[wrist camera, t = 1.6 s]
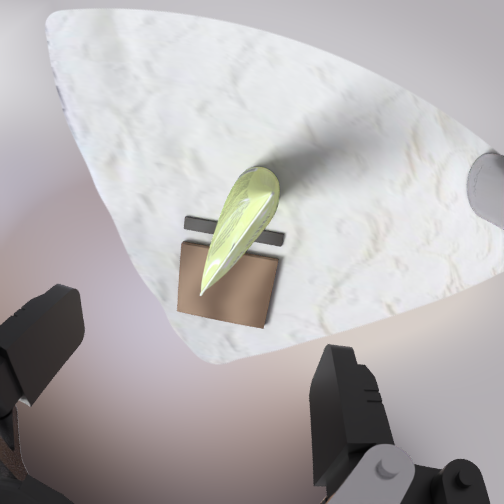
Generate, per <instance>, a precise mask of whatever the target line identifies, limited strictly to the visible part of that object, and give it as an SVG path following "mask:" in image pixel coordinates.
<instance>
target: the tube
mask: <svg viewBox="0 0 504 504" xmlns="http://www.w3.org/2000/svg"><path fill="white" fill-rule="evenodd" d="M279 192H280V187H279V182H278V179H277V177H276V176H275V175H274V173H272V172H271V171H270V170H268V169H266V168H263V167H253V168H250V169H248V170H246V171H244V172H243V173H242V174H241V175H240V177H239V178H238V179H237V181H236V183H235V184H234V186H233V187H232V189H231V191H230V193H229V195H228V197H227V199H226V202H225V204H224V207H223V209H222V212H221V215H220V217H219V220H218V223H217V226H216V229H215V232H214V235H213V238H212V241H211V245H210V248H209V251H208V255H207V259H206V263H205V268H204V272H203V278H202V284H201V293H200V296H202V295H203V293H204V292H205V290H206V289H208V288H209V287H211V286H212V285H213V284H214V283H216V282H217V281H218V280H219V279H220V278H222V277H223V276H224V275H225V274H226V273H227V272H228V271H229V270H230V269H231V268H232V267H233V266H234V265H235V264H236V263H237V261H238V260H239V259H240V258H241V257H242V256H243V254H244V253H245V252H246V251H247V250H248V248H249V247H250V246H251V245H252V244H253V242H254V241H255V240H256V239H257V237H258V236H259V235H260V234H261V233H262V231H263V230H264V229H265V228H266V226H267V225H268V224H269V223H270V221H271V220H272V218H273V216H274V214H275V212H276V210H277V207H278V202H279Z"/></svg>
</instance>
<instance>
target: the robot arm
mask: <svg viewBox="0 0 504 504" xmlns="http://www.w3.org/2000/svg"><path fill="white" fill-rule="evenodd" d="M467 194H468V199H469V202H470V205H471V207H472V209H473V211H474V212H475V213H476V214H477V215H478V216H480V217H481V218H483V219H485V220H487V221H489V222H490V223H492V224H494V225H496V226H498V227H499V228H501V229H503V230H504V156H503V155H497V154H492V153H489V154H484V155H482V156H481V157H479V158H478V159H477V160H476V161H475V163H474V164H473V166H472V168H471V170H470V173H469V176H468V182H467ZM84 332H85V327H84V320H83V314H82V308H81V300H80V294H79V292H78V290H77V289H74V288H71V287H67V286H64V285H61V284H56V285H55V286H53V287H52V288H51V289H50V290H48V291H47V292H46V293H45V294H43V295H40V296H38V297H36V298H33V299H31V300H30V301H29V302H27V303H26V304H25V305H24V306H22V308H21V309H19V310H18V311H17V312H15V313H14V316H11V317H9V318H8V319H7V320H6V321H5V322H4V323H3V324H2V325H0V504H74V503H73V502H71V501H70V500H69V499H68V498H66V497H65V496H64V495H63V494H61V493H59V492H57V491H55V490H54V489H52V488H50V487H48V486H47V485H45V484H43V483H41V482H40V481H38V480H36V479H35V478H33V477H31V476H30V475H28V472H27V470H26V468H25V466H24V463H23V461H22V457H21V450H20V441H19V428H18V411H17V407H16V405H15V404H16V403H17V402H18V400H20V401H22V402H24V403H25V404H27V405H29V406H30V407H31V406H32V405H33V403H34V402H35V401H36V399H37V398H38V397H39V395H40V394H41V393H42V391H43V390H44V389H45V388H46V386H47V385H48V384H49V382H50V381H51V380H52V379H53V377H54V376H55V375H56V374H57V372H58V371H59V370H60V368H61V367H62V366H63V365H64V364H65V362H66V361H67V360H68V359H69V357H70V356H71V355H72V354H73V352H74V351H75V350H76V349H77V348H78V346H79V345H80V344H81V342H82V340H83V337H84ZM309 402H310V415H311V416H310V417H311V434H312V453H313V479H314V480H313V481H314V486H326V491H327V496H326V497H325V498H324V499H323V500H322V502H321V503H320V504H490V501H489V497H488V494H487V490H486V486H485V483H484V480H483V477H482V474H481V472H480V470H479V468H478V467H477V466H476V465H475V464H473V463H472V462H470V461H468V460H465V459H456V460H453V461H451V462H450V463H448V464H447V465H446V466H445V467H444V468H443V469H436V468H430V467H425V466H419V465H416V464H414V463H413V460H412V458H411V457H410V455H409V454H408V453H407V452H406V451H404V450H403V449H401V448H400V447H397V446H395V444H394V441H393V437H392V434H391V430H390V426H389V423H388V419H387V416H386V412H385V409H384V405H383V404H382V398H381V395H380V393H379V389H378V385H377V382H376V379H375V377H374V375H373V374H372V373H371V372H370V370H369V369H368V368H367V367H366V366H365V365H360V364H357V361H356V358H355V354H354V350H353V348H352V347H346V346H338V345H330V344H328V345H327V346H326V347H325V349H324V352H323V354H322V357H321V360H320V362H319V365H318V367H317V370H316V372H315V374H314V377H313V379H312V383H311V387H310V394H309Z"/></svg>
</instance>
